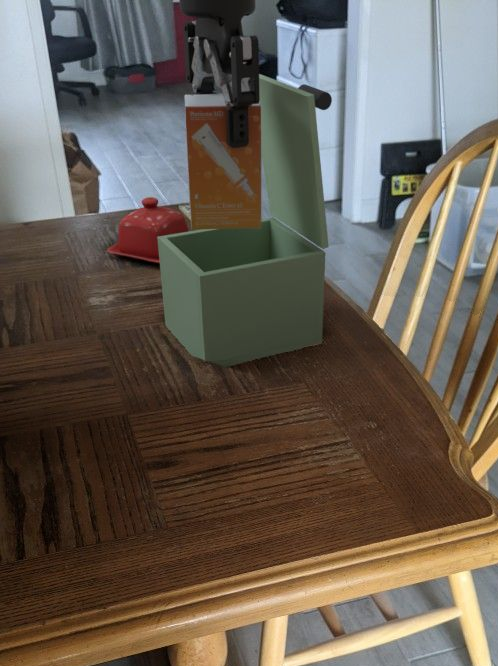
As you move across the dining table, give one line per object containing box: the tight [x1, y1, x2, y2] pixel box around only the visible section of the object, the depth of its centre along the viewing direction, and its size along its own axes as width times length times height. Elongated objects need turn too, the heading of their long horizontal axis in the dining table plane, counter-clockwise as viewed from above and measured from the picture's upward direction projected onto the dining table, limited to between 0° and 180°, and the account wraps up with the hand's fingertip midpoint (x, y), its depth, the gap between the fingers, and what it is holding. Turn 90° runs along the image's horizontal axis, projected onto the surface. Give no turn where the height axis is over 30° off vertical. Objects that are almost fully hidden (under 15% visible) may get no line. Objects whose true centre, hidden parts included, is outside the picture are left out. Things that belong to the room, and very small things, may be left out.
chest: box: [157, 216, 326, 368], centre depth 96 cm, size 16×14×12 cm
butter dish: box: [106, 196, 190, 264], centre depth 121 cm, size 12×12×8 cm
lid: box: [259, 73, 333, 250], centre depth 91 cm, size 17×14×5 cm
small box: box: [184, 93, 262, 231], centre depth 86 cm, size 8×6×13 cm
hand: (222, 137), depth 85 cm, fingers closed on small box, 7 cm apart
